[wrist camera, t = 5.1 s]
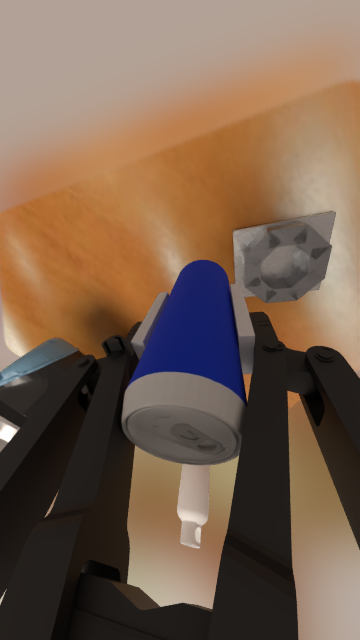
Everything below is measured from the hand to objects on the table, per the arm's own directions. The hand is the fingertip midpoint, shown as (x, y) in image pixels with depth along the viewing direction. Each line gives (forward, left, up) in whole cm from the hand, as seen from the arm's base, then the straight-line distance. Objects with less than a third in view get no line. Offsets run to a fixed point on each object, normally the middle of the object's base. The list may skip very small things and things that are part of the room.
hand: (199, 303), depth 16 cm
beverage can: (0, 0, -4) cm, 4 cm away
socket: (+11, -4, -20) cm, 24 cm away
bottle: (-10, -59, -21) cm, 63 cm away
